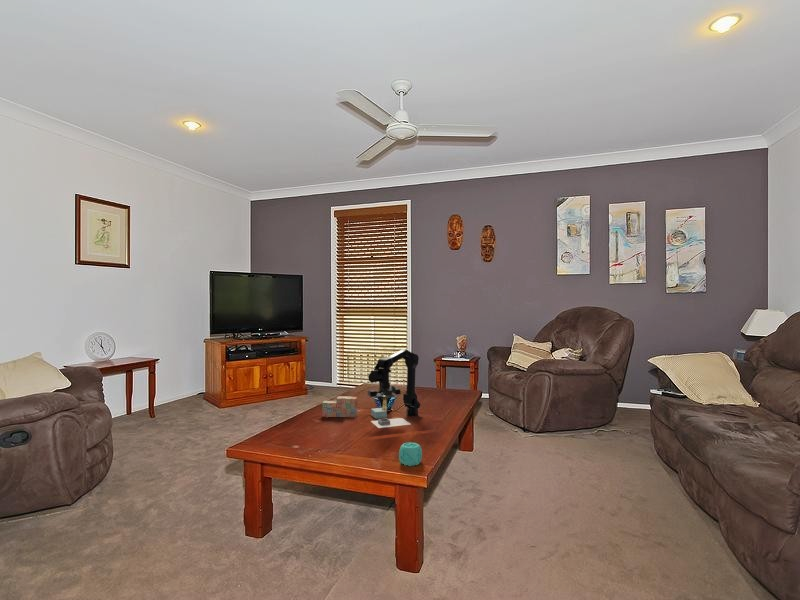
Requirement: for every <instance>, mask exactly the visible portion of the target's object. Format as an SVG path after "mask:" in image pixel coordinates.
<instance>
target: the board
mask: <svg viewBox="0 0 800 600" xmlns="http://www.w3.org/2000/svg"><path fill="white" fill-rule="evenodd" d="M370 423H372V424H373V425H374V426H375V427H377V428H378V429H383V428H392V427H401V426H410V425H411V423H410V422H409V421H407V420H406V419H404V418H403V417H395V418H378V419H376V420H371V421H370Z"/></svg>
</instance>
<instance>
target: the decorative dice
mask: <svg viewBox="0 0 800 600" xmlns="http://www.w3.org/2000/svg"><path fill="white" fill-rule="evenodd" d="M422 450H423V449H422V447H421V445H420V444H419V443H416V442H403V444H402V445H400V447H399V451H398V460H399V462H400V463H401V465H403V464H404V466H406V465H408V466H407V467H415V465H416V466H418V465H420V464H421V461H422V458H423V457H422V456H423V451H422Z"/></svg>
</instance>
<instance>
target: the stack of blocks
mask: <svg viewBox="0 0 800 600" xmlns="http://www.w3.org/2000/svg"><path fill="white" fill-rule="evenodd" d="M321 406H322V408H321V412H322V413H321V415H322V416H321V417H322V418H328V417H350V418H357V417H358V396H342V395H341V396H339V395H338V396H337V397H336V399H335V400H324V401H323V402H322V403H321ZM356 416H357V417H356Z"/></svg>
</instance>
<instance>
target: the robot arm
mask: <svg viewBox="0 0 800 600" xmlns="http://www.w3.org/2000/svg"><path fill="white" fill-rule="evenodd" d="M419 358H420V357H419V356H418V354H416V353H413V352H412V351H409V350H408V349H399V350H398V351H396V352H395V353H393V354H391V355H389V356H385V357H382V358H379V359H378V360H377V362H376V365H375V367H374V369H371V370H370V373H369V374H368V381H369V382H370V383H371V384H373V383H378V384H379V386H378V387H379V388H378V390H375V389H368V390H367V396H368V397H370V398H375V397H376V399H377V401H378V402H379V405H380V408H382V396H387V408H388V406H389V403H390V401H391V399H392V398H393V397H394V396H395V395H401V394H402V392H401V389H399V387H398V388H397V387H396V385H392V386H391V382H390V373H392V369H391V368H392V367H393V365H394V364H395V363H397V362H399V360H402V359H403V360H404V363H405V366H406V367H407V368H406V369H407V370H406V371H407V372H406V374H407V377H406V392H405V393H403V395H402V397H403V399H402V401H403V405H404V407H406V410H405V411H406V412H405V415H406V416H409V417H416V416H419V409H420V408H421V402H420V401H419V400H418V395H417V393H416V391H415V389H416V368H417V366H418V364H419V360H420V359H419ZM394 394H395V395H394Z"/></svg>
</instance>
